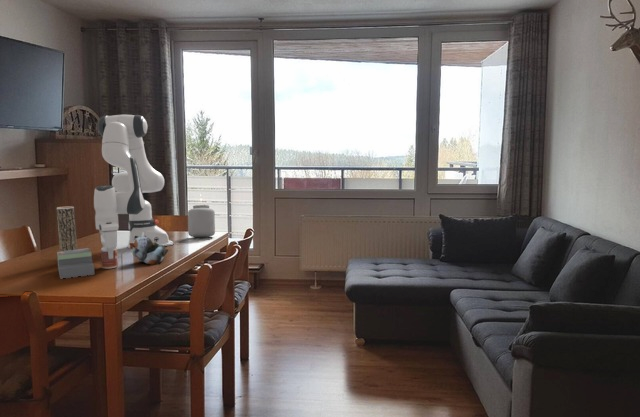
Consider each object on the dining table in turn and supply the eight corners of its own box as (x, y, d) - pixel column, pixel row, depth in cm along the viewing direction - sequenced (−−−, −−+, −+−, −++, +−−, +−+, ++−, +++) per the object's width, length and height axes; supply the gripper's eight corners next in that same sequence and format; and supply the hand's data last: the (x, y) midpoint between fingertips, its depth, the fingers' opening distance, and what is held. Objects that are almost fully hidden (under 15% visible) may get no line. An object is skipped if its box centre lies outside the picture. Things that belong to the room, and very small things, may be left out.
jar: (191, 235, 280) (189, 193, 277) (217, 234, 282) (215, 192, 279) (186, 240, 262) (184, 195, 259) (214, 239, 263) (212, 194, 261)
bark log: (81, 261, 214) (77, 206, 211) (69, 264, 208) (64, 208, 205) (70, 260, 216) (65, 206, 214) (57, 263, 210) (52, 207, 207)
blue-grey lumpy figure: (159, 265, 203) (141, 238, 199) (137, 275, 206) (118, 249, 202) (173, 248, 217) (155, 223, 212) (152, 258, 220) (134, 233, 216)
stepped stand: (90, 266, 204) (88, 247, 203) (94, 274, 189) (93, 254, 188) (58, 270, 198) (56, 250, 197) (60, 279, 183) (58, 258, 182)
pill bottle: (119, 267, 200) (117, 241, 199) (103, 269, 197) (101, 243, 196) (116, 265, 206) (114, 239, 204) (101, 267, 202) (99, 241, 201)
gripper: (96, 222, 206) (98, 253, 208) (101, 227, 189) (104, 262, 191) (111, 220, 210) (113, 251, 211) (118, 226, 192) (121, 259, 194)
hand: (109, 256), depth 201 cm, fingers open, 7 cm apart
